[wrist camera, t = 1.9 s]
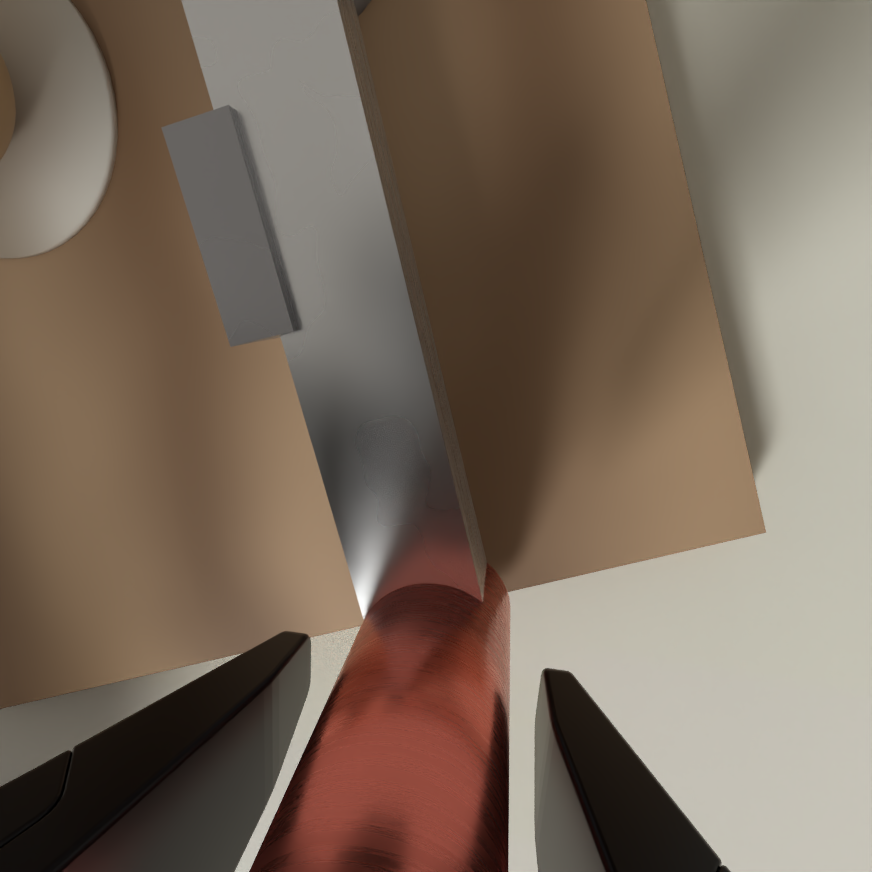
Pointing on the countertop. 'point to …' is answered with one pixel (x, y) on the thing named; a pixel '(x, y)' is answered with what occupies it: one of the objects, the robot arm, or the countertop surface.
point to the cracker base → (266, 360)
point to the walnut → (6, 108)
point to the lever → (356, 440)
